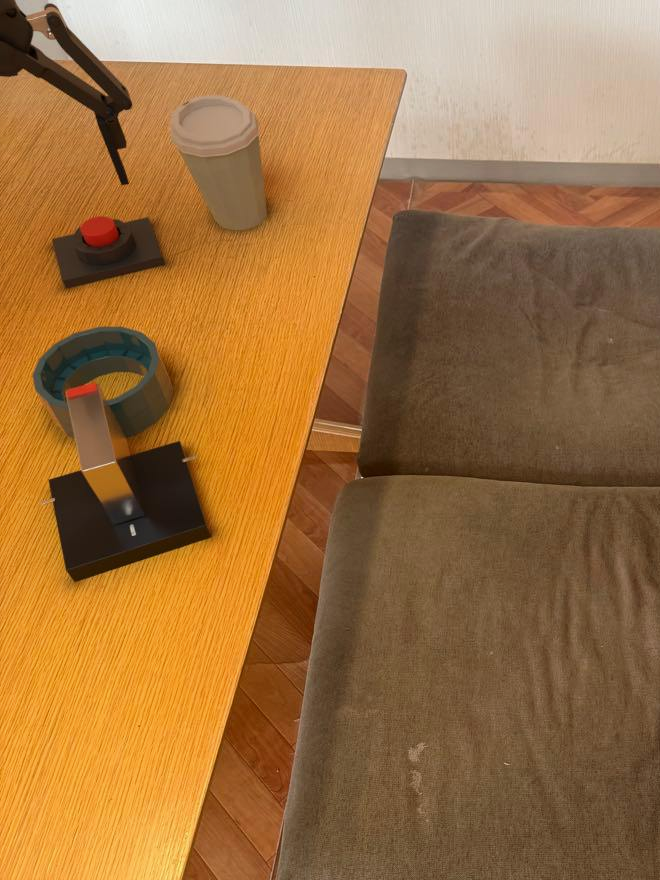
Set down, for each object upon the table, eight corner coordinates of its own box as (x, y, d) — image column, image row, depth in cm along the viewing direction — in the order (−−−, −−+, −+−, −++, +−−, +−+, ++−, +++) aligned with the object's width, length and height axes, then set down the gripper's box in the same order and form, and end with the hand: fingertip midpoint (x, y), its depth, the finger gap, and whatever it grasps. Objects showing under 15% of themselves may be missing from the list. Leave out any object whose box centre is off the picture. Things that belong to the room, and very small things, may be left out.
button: (88, 251, 109) (82, 238, 108) (83, 232, 111) (77, 220, 110) (121, 243, 110) (116, 231, 109) (116, 225, 113) (111, 213, 111)
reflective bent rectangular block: (145, 515, 87) (115, 459, 80) (113, 525, 86) (80, 469, 79) (126, 438, 93) (96, 380, 86) (96, 446, 92) (63, 388, 85)
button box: (69, 295, 110) (55, 268, 107) (58, 253, 115) (45, 226, 111) (167, 271, 113) (157, 244, 110) (153, 231, 118) (143, 204, 115)
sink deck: (66, 591, 85) (52, 573, 82) (43, 470, 94) (30, 450, 91) (225, 539, 89) (217, 520, 87) (189, 427, 98) (180, 407, 95)
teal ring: (65, 462, 94) (41, 423, 89) (49, 385, 101) (26, 344, 96) (186, 427, 98) (169, 388, 93) (162, 354, 104) (145, 314, 99)
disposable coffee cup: (298, 217, 121) (274, 108, 108) (240, 257, 115) (208, 148, 103) (241, 189, 124) (212, 81, 112) (183, 227, 119) (145, 118, 106)
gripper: (97, -80, 78) (172, 147, 96) (-224, -37, 72) (-82, 198, 89) (110, -45, 74) (186, 185, 92) (-229, 3, 68) (-79, 241, 85)
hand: (54, 192), depth 90 cm, fingers open, 13 cm apart
